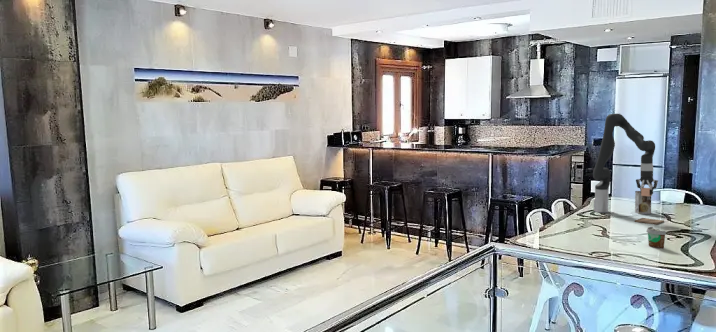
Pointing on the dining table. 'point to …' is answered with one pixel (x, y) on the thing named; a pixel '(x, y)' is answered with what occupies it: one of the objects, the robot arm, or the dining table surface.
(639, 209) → the coffee box
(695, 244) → the dining table surface
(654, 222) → the walnut board
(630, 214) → the dining table surface
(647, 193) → the terracotta cube
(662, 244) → the food container
